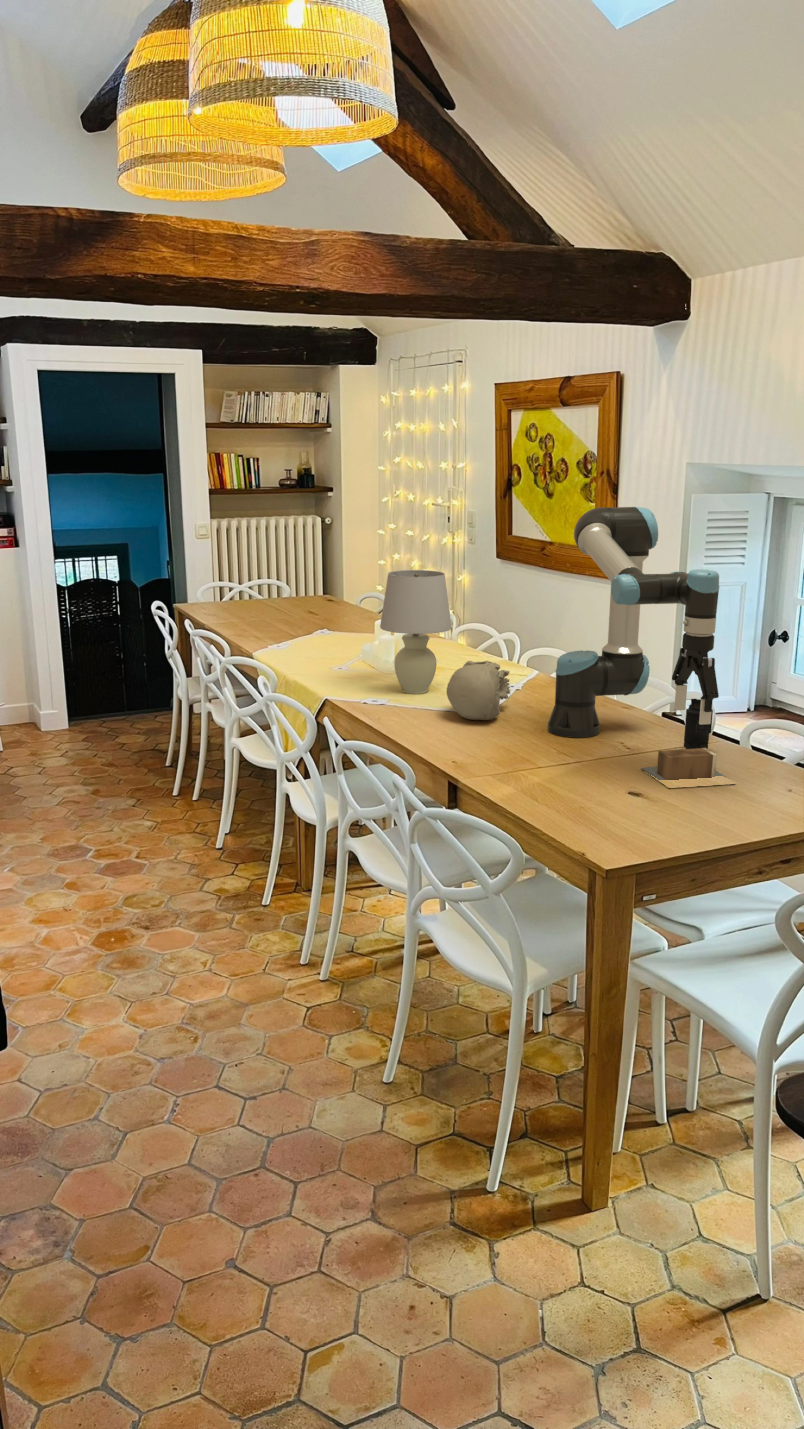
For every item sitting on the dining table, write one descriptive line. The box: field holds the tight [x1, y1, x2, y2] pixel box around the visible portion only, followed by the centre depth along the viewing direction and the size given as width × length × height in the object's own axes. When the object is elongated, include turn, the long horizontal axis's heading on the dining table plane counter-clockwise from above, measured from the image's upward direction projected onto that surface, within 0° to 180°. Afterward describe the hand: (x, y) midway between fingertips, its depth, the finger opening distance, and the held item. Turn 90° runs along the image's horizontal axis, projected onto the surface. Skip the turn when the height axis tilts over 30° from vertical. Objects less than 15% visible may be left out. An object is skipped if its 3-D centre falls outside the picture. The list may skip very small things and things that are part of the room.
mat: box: [641, 766, 724, 780], centre depth 271 cm, size 16×18×1 cm
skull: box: [446, 660, 511, 721], centre depth 327 cm, size 20×25×20 cm
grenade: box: [683, 698, 714, 750], centre depth 292 cm, size 7×7×15 cm
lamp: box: [379, 569, 453, 695], centre depth 356 cm, size 24×24×40 cm
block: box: [656, 748, 718, 780], centre depth 270 cm, size 6×6×13 cm
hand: (691, 716), depth 267 cm, fingers open, 13 cm apart
